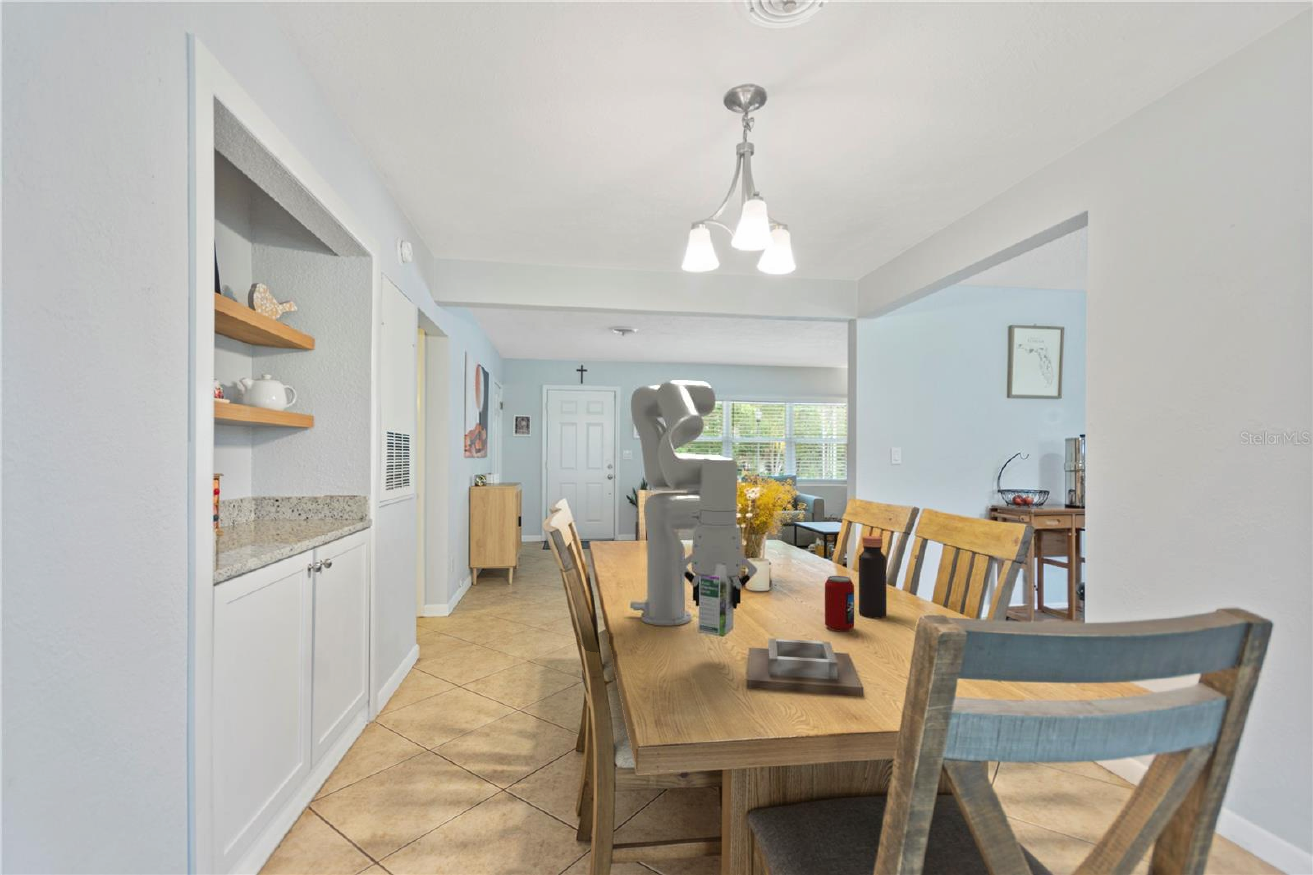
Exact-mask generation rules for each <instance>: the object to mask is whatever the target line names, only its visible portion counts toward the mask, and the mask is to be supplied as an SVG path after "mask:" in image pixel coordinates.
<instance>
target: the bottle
mask: <svg viewBox="0 0 1313 875" xmlns="http://www.w3.org/2000/svg"><path fill="white" fill-rule="evenodd" d="M861 538H862V539H861V540H862V548H863V551H862V552H861V553H860V554H859V555H858V613H859V615H861V616H862V615H863V616H862V617H866V618H871V619H880V618H881V619H882V618H885V617H886V616H887V615H888V614H887V611H888V610H887V557H886V555H885V554H884V553H883V552H882V549H883V537H881V536H873V535H866V536H862V537H861Z"/></svg>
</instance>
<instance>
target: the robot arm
mask: <svg viewBox="0 0 1313 875" xmlns="http://www.w3.org/2000/svg"><path fill="white" fill-rule="evenodd" d="M716 400H717V399H716V395H715V391H714V389H713V387H712V386H711V385H710V384H709V383H707V382H705V381H701V380H700V381H699V380H697V381H696V380H676V379H675V380H668V381H666V382H665V381H664V382H663V383H662V384H660V385H658V384H657V385H655V384H653V385H650V384H649V385H644V386H640V387H638V388H635V390H634V391H633V393H632V394H631V399H630V412H631V413H630V414H631V418H632V421H633V424H634V428H635V429H636V431H637V434H638V437H639V440H640V444H641V451H642V452H641V453H642V460H643V468H644V476H645V481H646V483H647V485H648V487H649V488H651V489H654V490H658V491H659V490H660V491H661V490H662V491H664V490H665V491H667V490H668V491H673V490H677V491H685V492H660V493H658V492H657V493H654V494H651V495H650V496H648V497H647V498H646V500H645V501H644V505H643V517H644V523H645V529H646V530H645V531H646V546H647V550H646V552H647V553H646V555H647V557H646V558H647V560H646V562H647V563H646V564H647V565H646V566H647V567H646V568H647V570H646V572H647V576H646V577H647V579H646V580H647V581H646V583H647V584H646V588H647V589H646V592H647V593H646V600H643V601H639V600H630V603H629V604H630V610H633V611H642V612H641V614H640V619H641V621H642V622H644V623H646V624H648V625H649V624H650V625H655V626H665V627H666V626H671V627H672V626H680V625H683V624H687V623H689V622H691V621H692V614H691V613H690V612H689V611H686V580H687V581H688V582H689V583H690V585H691V586H692V601H693V602H695V607H699V575H705V576H711V575H715V572H716V568H717V566H715V565H718V564H726V576H727V577H731V578H732V580H733V582H734V588H733V608H734V610H736V609H737V607H738V604H739V605H740V604H741V596H742V594H741V593H742V590H741V589H742V588H743V586H745V585H746V584H747V583H748V582H749V581H750V580H751V579H752V578H753V577H754V575H755V574H757V572H758V568H757V567H756V566H755V565H754V564H753V563H752V562H751V561H750V560H749V559H748V558H747V557H746V556H744V554H743V538H742V530H741V525H739V524H738V523H737V517H738V516H737V513H738V507H737V506H738V462H737V461H736V460H735V459H734V458H732V457H724V456H723V455H719V454H696V453H691V452H690V453H688V452H684V453H683V452H677V451H676V449H678V448H681V447H683V446H686V445H688V444H690V443H691V442H693V441H695V440H697V439H698V438H699V437H700V436H701V434H702V433H703V431H704V428H705V422H704V420H703V417H706V416H709V415H711V414H712V412H713V411H714V409H715V407H716V406H715V405H716ZM659 419H663V421H664V424H663V422H661V421H660V420H659ZM679 531H693V536H692V548H691V554H689V555H688V556H687V557H686V549H685V548H686V547H685V545H684V543H683V542H682V541H681V539H680V538H679V536H678V535H677V533H676V532H679ZM690 564H691V571H690V570H689V568H688V566H689V565H690ZM743 567H745V568H746V569H747V570H748V571H747V572H746V573H745V574H743V575H742V576H741V577H740V575H741V574H742V572H743ZM693 573H694V574H695V575H694V574H693Z"/></svg>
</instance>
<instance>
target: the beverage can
mask: <svg viewBox="0 0 1313 875" xmlns="http://www.w3.org/2000/svg"><path fill="white" fill-rule="evenodd" d="M824 625H825V626H826V627H828V628H829V629H830V630H832V631H835V632H849V631H850V630H852V629H854V628H855V585H854V583H853V581H852V578H851V577H848V576H843V575H829V576H827V579H826V581H825V583H824Z"/></svg>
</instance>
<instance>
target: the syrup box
mask: <svg viewBox="0 0 1313 875" xmlns="http://www.w3.org/2000/svg"><path fill="white" fill-rule="evenodd" d="M715 566H717V568H716V572H715V575H711V576H705V575H699V606H698V622H697V623H698V626H697V627H698V629H697V631H698V633H699V634H706V635H713V636H717V637H721V638H725V637H726V636H727V635H728V634H729V633H730V632H732V631H733V630H734V621H735V620H734V615H735V614H734V612H735V609H734V608H733V588H734V585H735V584H734V582H733V580H732V578H731V577H727V576H726V564H718V565H715Z"/></svg>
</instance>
